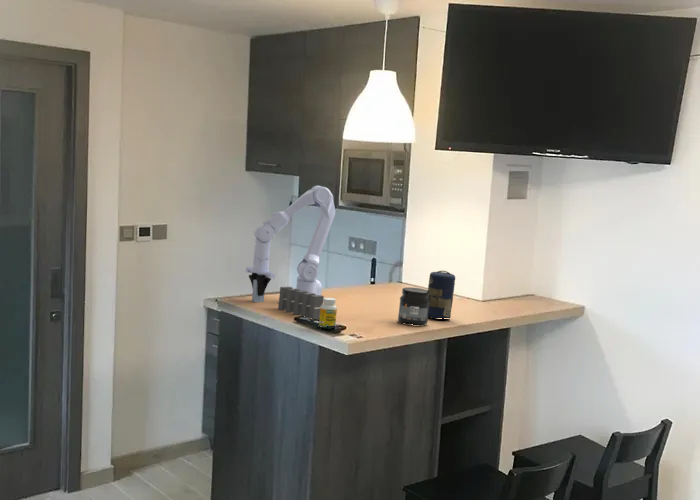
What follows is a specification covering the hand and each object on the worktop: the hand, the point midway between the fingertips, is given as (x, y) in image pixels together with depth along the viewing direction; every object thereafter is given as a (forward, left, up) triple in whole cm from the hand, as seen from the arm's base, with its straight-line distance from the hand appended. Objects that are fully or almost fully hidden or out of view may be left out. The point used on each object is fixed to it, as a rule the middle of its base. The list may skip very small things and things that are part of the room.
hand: (258, 294), depth 279 cm
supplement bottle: (+6, +43, -3) cm, 43 cm away
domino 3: (0, +19, -2) cm, 19 cm away
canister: (-47, +47, -3) cm, 67 cm away
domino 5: (0, +27, -2) cm, 27 cm away
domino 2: (0, +15, -2) cm, 15 cm away
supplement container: (-30, +49, -3) cm, 58 cm away
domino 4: (0, +23, -2) cm, 23 cm away
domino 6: (0, +31, -2) cm, 31 cm away
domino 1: (0, 0, -2) cm, 2 cm away
